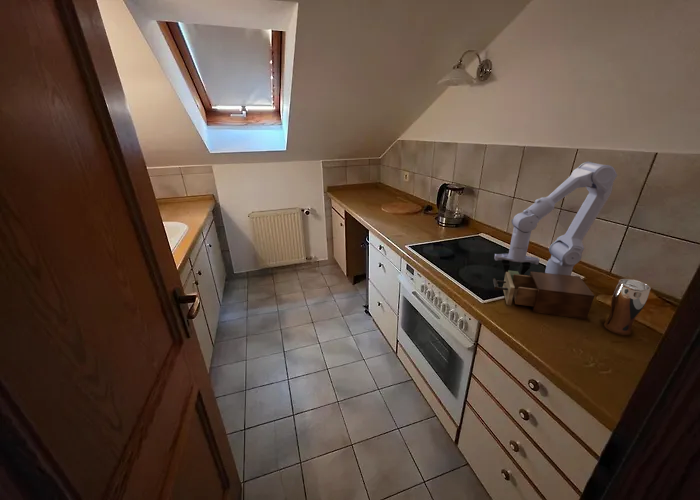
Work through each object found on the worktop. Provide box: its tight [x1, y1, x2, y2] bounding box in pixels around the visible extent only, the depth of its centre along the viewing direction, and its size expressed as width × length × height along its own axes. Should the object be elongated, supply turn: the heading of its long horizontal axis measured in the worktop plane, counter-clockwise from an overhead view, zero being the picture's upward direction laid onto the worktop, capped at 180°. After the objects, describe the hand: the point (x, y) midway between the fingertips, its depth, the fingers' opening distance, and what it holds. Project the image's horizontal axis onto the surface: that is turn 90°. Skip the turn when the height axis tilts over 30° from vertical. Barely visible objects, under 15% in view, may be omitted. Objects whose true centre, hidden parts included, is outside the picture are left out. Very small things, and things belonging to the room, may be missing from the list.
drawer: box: [492, 272, 538, 307], centre depth 101 cm, size 18×11×7 cm, turn 72°
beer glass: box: [603, 278, 652, 336], centre depth 85 cm, size 7×7×15 cm
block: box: [508, 269, 519, 280], centre depth 114 cm, size 4×4×4 cm
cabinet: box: [529, 271, 595, 320], centre depth 98 cm, size 15×13×9 cm
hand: (512, 278), depth 114 cm, fingers open, 4 cm apart
